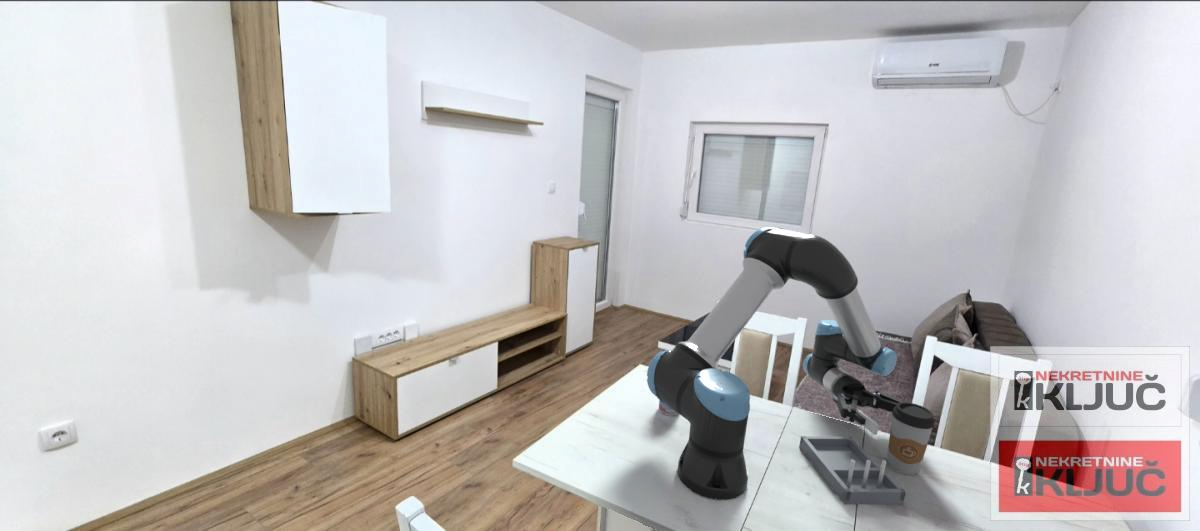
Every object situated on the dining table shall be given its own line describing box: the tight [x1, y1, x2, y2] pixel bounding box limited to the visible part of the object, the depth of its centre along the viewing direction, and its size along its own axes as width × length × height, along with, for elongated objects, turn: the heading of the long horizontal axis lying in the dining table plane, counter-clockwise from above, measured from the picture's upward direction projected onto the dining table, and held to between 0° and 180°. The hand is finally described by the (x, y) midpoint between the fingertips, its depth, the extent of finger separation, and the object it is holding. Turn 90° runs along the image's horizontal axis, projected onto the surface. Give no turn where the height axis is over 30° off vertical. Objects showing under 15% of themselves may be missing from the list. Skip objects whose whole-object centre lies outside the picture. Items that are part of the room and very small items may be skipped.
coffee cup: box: [886, 401, 936, 476], centre depth 111 cm, size 8×8×15 cm
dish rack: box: [798, 435, 907, 505], centre depth 108 cm, size 20×13×8 cm, turn 4°
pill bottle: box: [658, 399, 680, 416], centre depth 131 cm, size 6×6×11 cm
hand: (901, 428), depth 114 cm, fingers open, 13 cm apart
